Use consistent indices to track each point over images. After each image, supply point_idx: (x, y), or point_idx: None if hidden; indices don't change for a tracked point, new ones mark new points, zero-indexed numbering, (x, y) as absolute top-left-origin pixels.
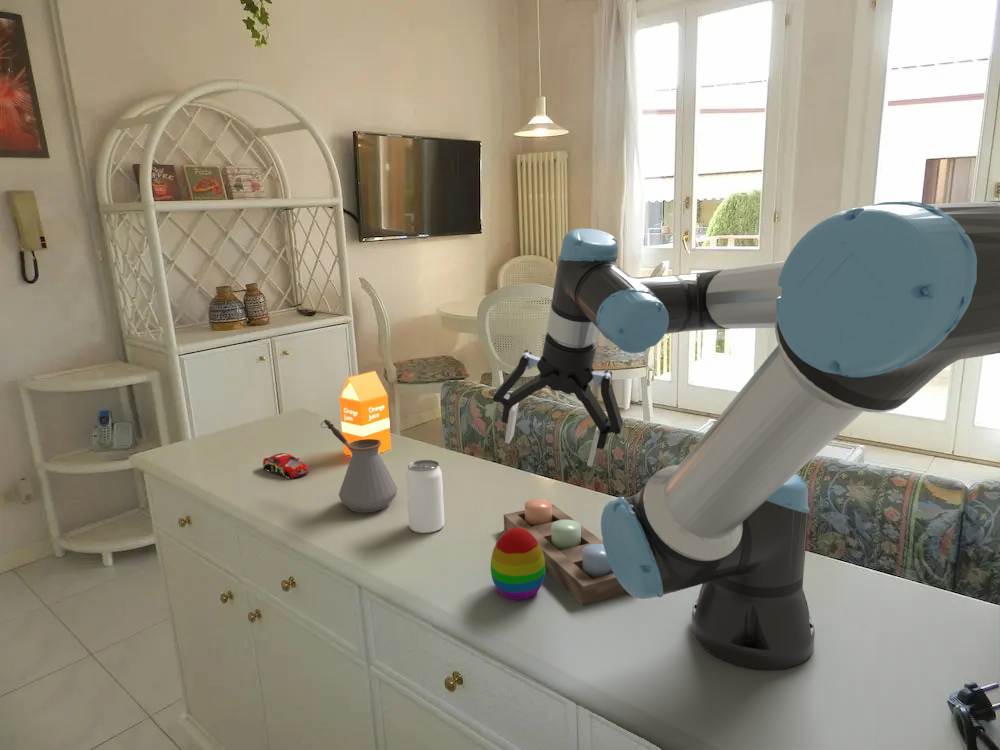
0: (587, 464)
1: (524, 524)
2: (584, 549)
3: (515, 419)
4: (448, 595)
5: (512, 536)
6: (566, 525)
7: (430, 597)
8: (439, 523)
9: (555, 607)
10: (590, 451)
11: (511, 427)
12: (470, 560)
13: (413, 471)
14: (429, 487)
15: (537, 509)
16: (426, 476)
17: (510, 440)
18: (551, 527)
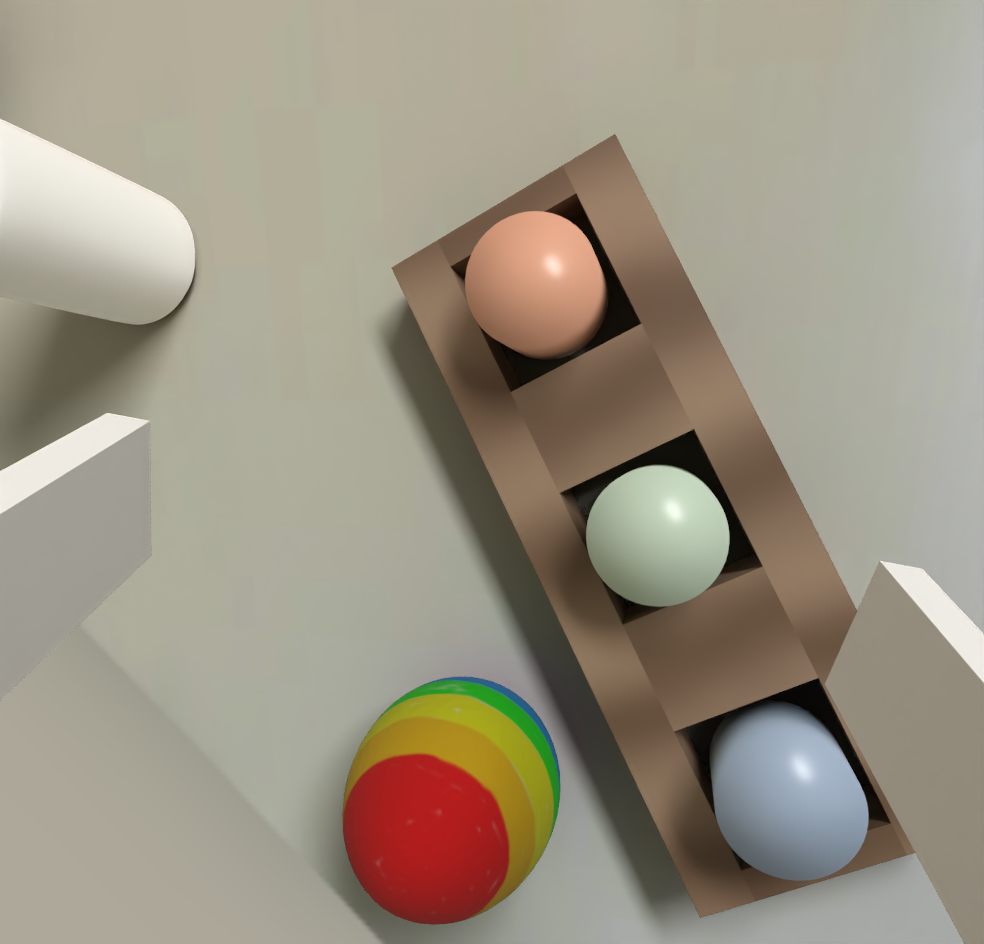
0: (831, 695)
1: (481, 370)
2: (725, 784)
3: (17, 543)
4: (273, 751)
5: (388, 906)
6: (658, 533)
7: (226, 755)
8: (170, 290)
9: (601, 867)
10: (893, 809)
11: (32, 667)
12: (315, 529)
13: None
14: (9, 279)
15: (525, 346)
16: None
17: (144, 531)
18: (587, 544)
